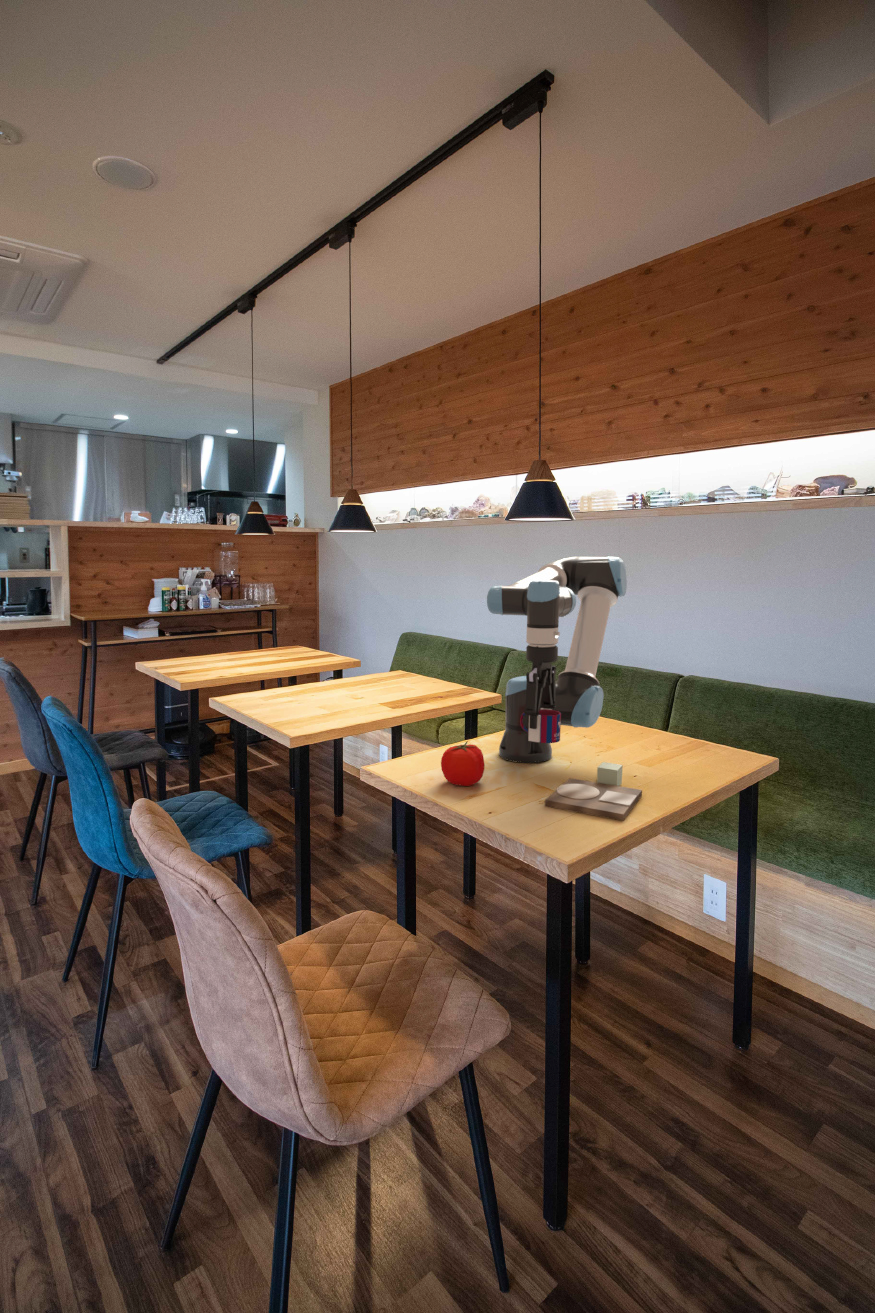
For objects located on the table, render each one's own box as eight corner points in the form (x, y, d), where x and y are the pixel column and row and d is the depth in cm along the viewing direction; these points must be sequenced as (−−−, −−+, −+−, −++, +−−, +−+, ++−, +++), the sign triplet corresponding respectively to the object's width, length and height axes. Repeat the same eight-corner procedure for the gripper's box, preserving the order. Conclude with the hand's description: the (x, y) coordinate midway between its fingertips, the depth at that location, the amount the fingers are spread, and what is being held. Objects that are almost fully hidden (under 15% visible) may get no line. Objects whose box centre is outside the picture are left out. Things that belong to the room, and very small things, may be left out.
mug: (553, 744, 160) (554, 716, 159) (515, 738, 165) (516, 711, 164) (564, 738, 166) (565, 711, 165) (527, 732, 171) (527, 706, 170)
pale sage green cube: (596, 786, 169) (597, 767, 168) (602, 780, 173) (603, 762, 173) (616, 789, 167) (617, 770, 166) (621, 784, 171) (622, 764, 170)
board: (544, 806, 156) (545, 798, 155) (569, 783, 171) (569, 776, 170) (623, 820, 147) (623, 813, 146) (641, 796, 162) (642, 788, 162)
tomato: (477, 774, 178) (478, 736, 177) (489, 790, 166) (490, 750, 165) (436, 776, 177) (436, 738, 175) (445, 793, 164) (445, 752, 163)
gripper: (541, 650, 152) (539, 749, 155) (570, 641, 169) (568, 730, 172) (511, 648, 155) (509, 745, 159) (542, 639, 172) (540, 727, 176)
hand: (540, 737), depth 165 cm, fingers closed on mug, 7 cm apart
